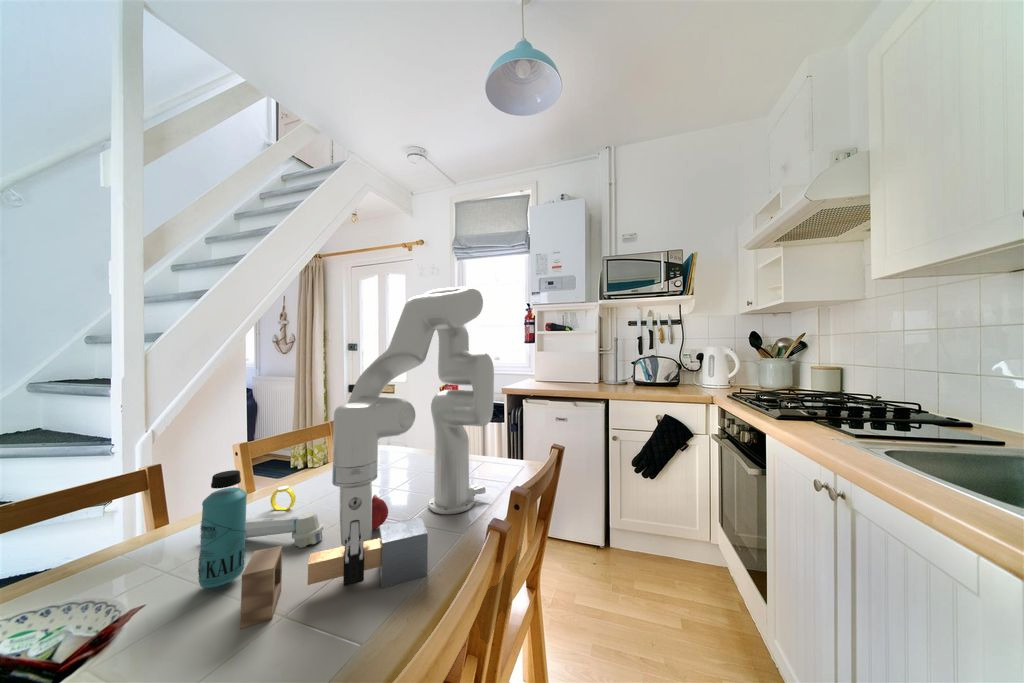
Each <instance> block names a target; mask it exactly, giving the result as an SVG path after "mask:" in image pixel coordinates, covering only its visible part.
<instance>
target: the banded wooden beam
mask: <svg viewBox="0 0 1024 683" xmlns="http://www.w3.org/2000/svg"><path fill="white" fill-rule="evenodd" d="M358 539H361V537H359V538H358ZM349 541H351V539H348V542H349ZM359 548H360V544H359V545H358V549H359ZM349 551H350V547H349ZM345 554H346V546H343V545H341V546H338V547H334V548H330V549H325V550H321V551H316V552H312V553H310V554H309V555H310V556H309V558H308V564H307V586H310V585H313V584H318V583H321V582H326V581H330V580H333V579H338V578H341V577H344V561H345ZM363 556H364V572H366V571H369V570H372V569H376V568H379V567H381V564H382V544H381V538H380V537H378V538H373V539H371V540H370V541H364V542H363Z"/></svg>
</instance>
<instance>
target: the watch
mask: <svg viewBox="0 0 1024 683" xmlns="http://www.w3.org/2000/svg"><path fill="white" fill-rule="evenodd" d="M284 492H286V493H288V495H289V497H290V501H291V502H290V503H289V506H288V507H284V506H282V507H280V506H279V505H278V504H277V501H276V497H277V494H278V493H284ZM295 503H296V494H295V492H294V490H293V489H291V488H290V485H284V486H283V485H282V486H280V487H277V489H276V491H274V492H273V493H272V495H271V496H270V505H271V507H272V509H273V510H274V511H276V510H287V511H289V510H290V509H291V508H292V507H293V506H294V505H295Z"/></svg>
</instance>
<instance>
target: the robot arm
mask: <svg viewBox="0 0 1024 683" xmlns="http://www.w3.org/2000/svg"><path fill="white" fill-rule="evenodd" d="M483 306H484V300H483V296H482V293H481V291H480V290H479V289H478V288H477V287H475V286H469V285H467V286H457V287H445V288H437V289H436V288H435V289H432V290H429V291H426V292H425V293H424V294H421V295H419V294H418V295H416V296H415V295H414V296H413V297H410V298H409V299H407V301H406V303H405V304H404V306H403V309H402V312H401V314H400V317H399V319H398V322H397V325H396V327H395V330H394V332H393V335H392V337H391V339H390V344H388V347H387V348H386V350H385V351H384V352H382V354H380V355H379V356H378V357H377V358H375V360H374V361H373V362H372V363H371V364H370V365H369V366H368V367H367V368H365V370H364V371H363V372H362V373H361V374H360V376H359V377H358V379H357V381H356V382H355V384H354V386H353V389H352V391H351V393H350V396H349V398H348V402H347V403H344V404H341V405H339V406H337V407H336V409H335V410H334V411H333V432H332V433H333V434H332V435H333V436H332V438H333V439H332V475H331V476H332V478H331V480H332V481H331V482H332V485H333V486H334V487H338V488H339V530H340V531H339V532H340V543H341V546H346V554H345V561H344V576H342V577H343V578H342V579H343V584H342V585H343V587H348V586H351V585H356V584H358V583H362V582H364V580H365V571H364V556H363V542H365V541H370V540H373V539H372V538H373V529H372V498H373V487H372V486H373V484H372V482H374V481H375V480H376V479H377V478H378V470H379V468H378V466H379V465H378V464H379V462H378V459H379V439H381V438H391V437H398V436H401V435H403V434H406V433H407V432H408V431H409V430H410V429H411V428H412V427H413V425H414V423H415V421H416V410H415V407H414V406H413V404H412V403H411V402H409V401H408V400H406V399H403V398H395V397H383V396H382V397H381V396H380V395H381V394H382V392H383V390H384V389H385V387H386V386H387V385H388V384H390V382H392V381H393V380H394V379H395V378H397V377H399V376H400V375H402V374H404V373H407V372H409V371H411V370H413V369H415V368H417V367H419V366H420V365H422V364H423V363H424V362H425V361H426V359H427V354H428V353H429V349H430V345H431V342H432V339H433V337H434V333H435V331H437V336H438V355H437V356H438V359H437V373H438V374H437V375H438V379H439V381H440V382H441V383H442V384H445V385H449V386H451V385H453V386H470V387H471V388H472V390H464V389H445V390H441V391H439V392H437V393H436V394H434V396H433V397H432V400H431V403H430V410H431V411H430V412H431V417H432V423H433V431H434V457H433V458H434V459H433V460H434V464H433V465H434V469H433V470H434V472H433V474H434V482H433V484H434V485H433V486H434V488H433V491H434V492H433V493H434V494H433V496H432V497H431V498H430V499H429V500H428V505H427V506H428V509H429V510H430V511H432V512H433V513H436V514H440V515H455V514H459V513H464V512H466V511H468V510H470V509H471V508H472V507H474V505H475V496H476V495H483V494H485V493H486V492H487V491H486V489H487V488H486V486H484V485H482V486H479V485H478V484H475V485H470V438H469V435H468V433H467V430H466V428H465V427H464V426H468V427H469V426H470V427H484V426H487V425H488V424H489V423H490V422H491V421H492V418H493V413H494V395H495V394H494V393H495V391H494V389H495V371H494V370H495V368H494V363H493V360H492V357H491V356H490V355H489V353H487V352H484V351H479V350H478V351H477V350H476V351H473V350H471V351H470V347H469V346H470V343H469V342H470V340H469V338H470V337H469V331H468V330H467V328H466V327H465V325H466V324H467V323H469V322H471V321H473V320H475V319H476V318H478V316H480V314H481V313H482V310H483V308H484V307H483ZM359 537H361V539H358V538H359ZM348 539H351V541H349V542H348ZM359 544H360V548H359V549H358V545H359ZM349 547H350V551H349Z"/></svg>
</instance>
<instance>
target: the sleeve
mask: <svg viewBox="0 0 1024 683" xmlns="http://www.w3.org/2000/svg"><path fill="white" fill-rule="evenodd" d="M428 533H429V532H428V531H427V528H426V525H425V523H424V521H423V519H422V516H419V517H414V518H413V517H412V518H410V519H404V520H399V521H394V522H388V523H383V524H382V525H380V526H379V538H381V544H382V564H381V567H378V568H379V576H380V577H379V578H380V586H381V587H380V588H381V589H384V588H389V587H391V586H395V585H398V584H402V583H405V582H406V583H407V582H409V581H412V580H416V579H419V578H424V577H427V576H428V556H429V555H428V553H429V552H428V547H429V546H428V543H429V542H428V541H429V540H428V539H429V538H428Z"/></svg>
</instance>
